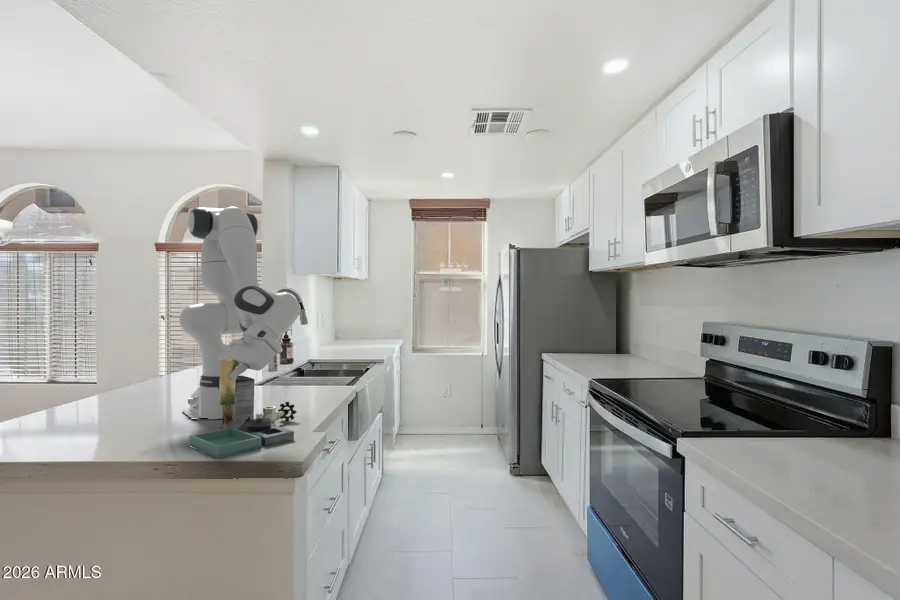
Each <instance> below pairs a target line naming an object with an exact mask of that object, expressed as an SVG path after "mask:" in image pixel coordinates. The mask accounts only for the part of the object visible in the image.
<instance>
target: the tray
mask: <svg viewBox="0 0 900 600" xmlns="http://www.w3.org/2000/svg"><path fill="white" fill-rule="evenodd" d="M189 445H190V446H192V447H194V448H196V449H198V450H200V451H202V452H201V453H203V452H204V453H203V454H205V453H206V454H205V455H207V456H210V457H212V458H214V459H223V458H226V457H231V456H235V455H239V454H244V453H247V452H251V451H256V450H260V449H262V445H261V437H259V436H256V435H253V434H250V433H247V432H244V431H241V430H238V429H236V428H233V427H231V428H226V429H224V428H222V429H216V430H212V431H207V432H202V433H197V434H191V435H189ZM189 445H188V446H189ZM194 448H193V449H194ZM196 449H195V450H196ZM198 450H197V451H198ZM200 451H199V452H200Z"/></svg>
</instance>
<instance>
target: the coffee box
mask: <svg viewBox="0 0 900 600" xmlns="http://www.w3.org/2000/svg"><path fill="white" fill-rule="evenodd" d="M254 408H255V378H252V377H249V376H245V375H242V374H240V375H239V376H237V378H236V384H235V404H233V405H223V410H222V419H221V420H222V421H221V422H222V426H221V427H223V428H222V429H224V428H225V429H226V428H231V427H233V428H236V429H238V428H242V427H247V426H248V421H249V420H252V419H255V417H254V416H255V415H254V414H255V413H254V411H255V409H254Z"/></svg>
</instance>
